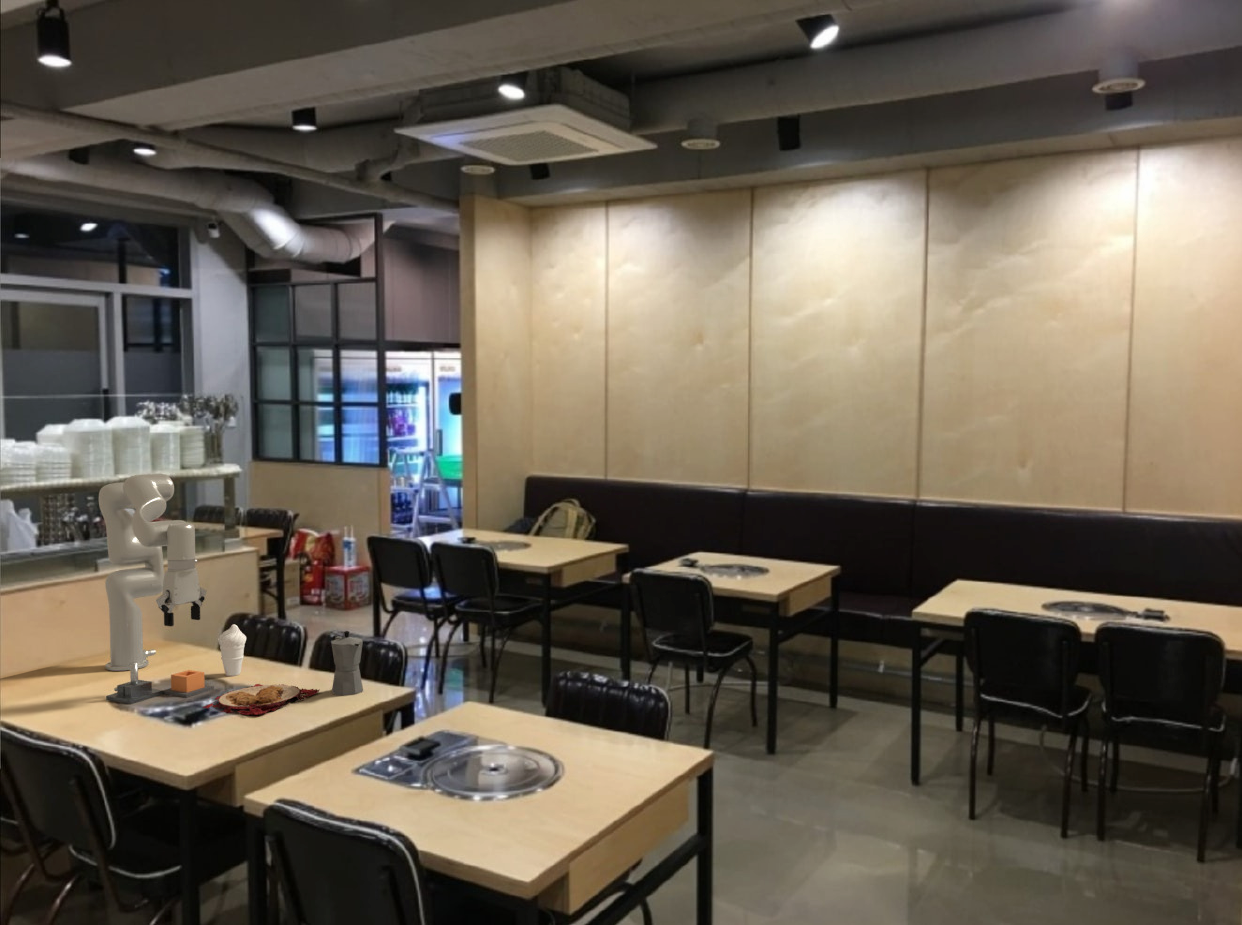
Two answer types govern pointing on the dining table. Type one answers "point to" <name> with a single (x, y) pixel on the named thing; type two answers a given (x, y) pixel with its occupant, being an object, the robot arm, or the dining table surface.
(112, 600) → the robot arm
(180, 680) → the orange square tube
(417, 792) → the dining table surface
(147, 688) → the grey peg stand
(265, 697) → the plate with food
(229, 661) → the soft serve ice cream cone
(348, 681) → the coffeepot
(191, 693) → the mat
